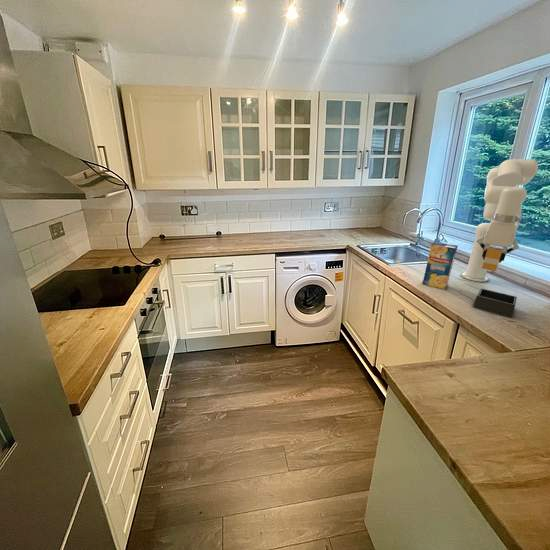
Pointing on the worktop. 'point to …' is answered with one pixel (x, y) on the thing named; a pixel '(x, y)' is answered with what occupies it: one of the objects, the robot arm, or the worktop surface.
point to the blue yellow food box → (439, 264)
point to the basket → (495, 302)
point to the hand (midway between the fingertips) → (492, 260)
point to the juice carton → (492, 258)
